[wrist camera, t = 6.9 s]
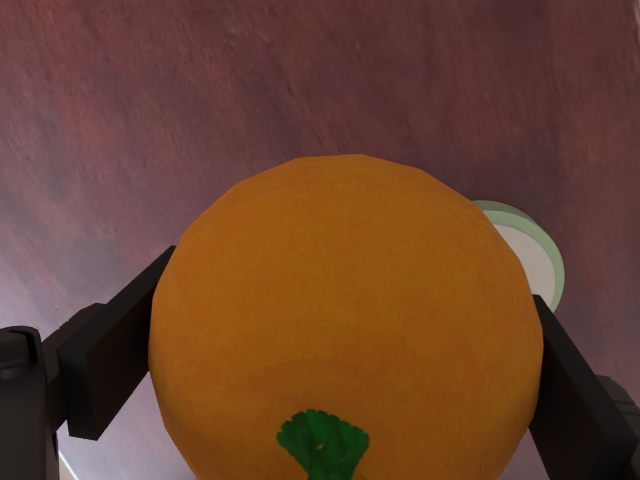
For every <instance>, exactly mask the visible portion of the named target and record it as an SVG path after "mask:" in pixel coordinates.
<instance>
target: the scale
mask: <svg viewBox="0 0 640 480" xmlns="http://www.w3.org/2000/svg"><path fill="white" fill-rule="evenodd" d="M472 202H473V203H474V204H475V205H477V206H478V207H479V208H480V209H481V210H482V211H483V213H484V214H485V215H486V216H487V218H488V219H489V220H490V222H491V223H492V224H493V226H494V227H495V228H496V229H497V231H498V232H499V233H500V235H501V236H502V237H503V238H504V240H505V241H506V242H507V244H508V245H509V246H510V247H511V249H512V250H513V251H514V253H515V254H516V255H517V256H518V258H519V260H520V262H521V264H522V266H523V268H524V270H525V273H526V276H527V279H528V283H529V286H530V289H531V293H532V294H537V295H541V297H542V298H543V300H544V301H545V303H546V304H547V306H548V307H549V309H550V310H551V311H552V313H554V311H555V309H556V307H557V306H558V303H559V301H560V298H561V296H562V292H563V287H564V277H565V276H564V266H563V262H562V258H561V255H560V253H559V250H558V248H557V247H556V245H555V243H554V242H553V240H552V239H551V238H550V237H549V236H548V234H547V233H546V232H545V231H544V230H543V229H542V228H541V227H540V226H539V225H538V224H537V223H536V222H535V221H534V220H533V219H532V218H531V217H529V216H528V215H527V214H525V213H524V212H522V211H520V210H519V209H517V208H514V207H512V206H510V205H507V204H503V203H500V202H494V201H485V200H476V201H472Z"/></svg>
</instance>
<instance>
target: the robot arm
mask: <svg viewBox="0 0 640 480" xmlns="http://www.w3.org/2000/svg"><path fill="white" fill-rule="evenodd" d="M176 247H177V246H173V245H171V246H170V247H169V248H168V249H167V250H166V251H165V252H164V253H163V254H161V255H160V256H159V257H158V258H157V259H156V260H155V261H154V262H153V263H151V264H150V265H149V266H148V267H147V268H146V269H145V270H144V271H143V272H141V273H140V274H139V275H138V276H137V277H136V278H135V279H134V280H133V281H131V282H130V283H129V284H128V285H127V286H126V287H125V288H124V289H122V290H121V291H120V292H119V293H118V294H117V295H116V296H115V297H114V298H112V299H111V300H110V301H109V302H108V303H107V304H101V303H95V304H92V305H90V306H88V307H86V308H84V309H81V310H80V311H78V312H77V313H76V314H75V315H74V316H72V317H71V318H70V319H69V321H68V322H65V323H64V324H63V325H62V326H61V327H59V330H58V329H57V330H56V331H55V332H53V333H52V334H51V335H50V336H49V337H47V338H46V339H45V340H44V341H43V342H41V337H40V334H39V332H38V330H37V329H35V328H33V327H29V326H11V327H6V328H2V329H0V480H60V478H59V455H58V439H57V433H56V431H57V430H58V429H59V427H60V426H61V425H62V424H63V423H64V422H65V421H66V419H67V424H68V430H69V436H71V437H77V438H83V439H89V440H95V441H97V440H98V439H99V438H100V436H101V435H102V433H103V432H104V431H105V429H106V428H107V427H108V425H109V424H110V423H111V421H112V420H113V419H114V417H115V416H116V414H117V413H118V412H119V410H120V409H121V408H122V406H123V405H124V404H125V402H126V401H127V400H128V398H129V397H130V396H131V394H132V393H133V391H134V390H135V389H136V387H137V386H138V385H139V383H140V382H141V381H142V379H143V378H144V377H145V375H146V374H147V372H148V371H149V367H148V343H149V332H150V322H151V312H152V301H153V296H154V293H155V290H156V287H157V284H158V282H159V280H160V278H161V276H162V274H163V272H164V270H165V268H166V266H167V264H168V262H169V260H170V258H171V256H172V254H173V252H174V250H175V249H176ZM532 296H533V299H534V303H535V306H536V309H537V313H538V316H539V319H540V323H541V326H542V333H543V345H544V348H543V357H542V366H541V376H540V385H539V394H538V402H537V405H536V409H535V413H534V416H533V419H532V421H531V422H530V424H529V426H528V428H529V430H530V433H531V435H532V437H533V440H534V442H535V445H536V447H537V450H538V452H539V455H540V457H541V459H542V462H543V464H544V467H545V469H546V472H547V474H548V477H549V479H550V480H640V409H639V408H638V407H637V406H635V403H634V401H633V400H632V399H631V397H630V396H629V395H628V393H627V392H626V391H625V389H623V388H622V387H621V386H620V385H618V384H617V383H616V382H615V381H613V380H612V379H611V378H610V377H607V376H601V375H595V374H594V372H593V371H592V369H591V368H590V367H589V365H588V364H587V362H586V361H585V359H584V358H583V356H582V355H581V354H580V352H579V351H578V349H577V348H576V346H575V345H574V343H573V342H572V340H571V339H570V338H569V336H568V335H567V333H566V332H565V330H564V329H563V327H562V326H561V324H560V323H559V322H558V320H557V319H556V317H555V316H554V314H553V313H552V311H551V310H550V309H549V307H548V306H547V304H546V303H545V301H544V300H543V298H542V297H541V295H537V294H532Z"/></svg>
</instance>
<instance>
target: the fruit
mask: <svg viewBox="0 0 640 480" xmlns="http://www.w3.org/2000/svg"><path fill="white" fill-rule="evenodd" d="M543 348H544V345H543V333H542V326H541V323H540V319H539V316H538V313H537V309H536V306H535V303H534V299H533V296H532V293H531V289H530V286H529V283H528V279H527V276H526V273H525V270H524V268H523V266H522V264H521V262H520V260H519V258H518V256H517V255H516V254H515V253H514V251H513V250H512V249H511V247H510V246H509V245H508V244H507V242H506V241H505V240H504V238H503V237H502V236H501V235H500V233H499V232H498V231H497V229H496V228H495V227H494V226H493V224H492V223H491V222H490V220H489V219H488V218H487V216H486V215H485V214H484V213H483V211H482V210H481V209H480V208H479V207H478V206H477V205H475V204H474V203H473V202H472V201H470V200H468V199H467V198H465V197H464V196H462V195H461V194H459V193H458V192H456V191H454V190H453V189H451V188H450V187H448V186H447V185H445V184H444V183H442V182H440V181H439V180H437V179H436V178H434V177H433V176H431V175H429V174H428V173H426V172H425V171H423V170H422V169H418V168H414V167H410V166H406V165H403V164H399V163H395V162H391V161H387V160H383V159H379V158H375V157H371V156H367V155H363V154H347V155H331V156H315V157H299V158H296V159H293V160H291V161H289V162H286V163H284V164H281V165H279V166H276V167H274V168H271V169H269V170H266V171H264V172H261V173H259V174H257V175H254V176H252V177H249V178H247V179H244V180H242V181H241V182H239V183H237V184H235V185H234V186H233V187H231V188H230V189H229V190H228V191H227V192H226V193H225V194H224V195H222V196H221V197H220V198H219V199H218V200H217V201H216V202H215V203H214V204H212V205H211V206H210V207H209V208H208V209H207V210H206V211H205V212H203V213H202V214H201V215H200V216H199V217H198V218H197V219H196V220H195V221H193V222H192V223H191V225H190V226H189V227H188V228H187V230H186V231H185V232H184V233H183V235H182V237H181V239H180V241H179V243H178V245H177V247H176V249H175V250H174V252H173V254H172V256H171V258H170V260H169V262H168V264H167V266H166V268H165V270H164V272H163V274H162V276H161V278H160V280H159V282H158V284H157V287H156V290H155V293H154V296H153V301H152V312H151V322H150V332H149V343H148V367H149V371H150V375H151V378H152V382H153V386H154V390H155V393H156V397H157V401H158V405H159V408H160V412H161V416H162V419H163V422H164V426H165V428H166V430H167V432H168V433H169V435H170V437H171V439H172V440H173V442H174V444H175V445H176V447H177V448H178V450H179V451H180V453H181V454H182V456H183V458H184V459H185V461H186V462H187V464H188V465H189V467H190V468H191V470H192V471H193V473H194V474H195V476H196V478H197V479H198V480H496V479H497V478H498V477H499V476H500V475H501V473H502V472H503V470H504V469H505V467H506V466H507V464H508V463H509V461H510V459H511V458H512V456H513V454H514V452H515V450H516V448H517V446H518V445H519V443H520V441H521V439H522V437H523V435H524V434H525V432H526V430H527V428H528V426H529V424H530V422H531V421H532V419H533V416H534V413H535V409H536V405H537V402H538V394H539V385H540V376H541V366H542V357H543Z"/></svg>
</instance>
